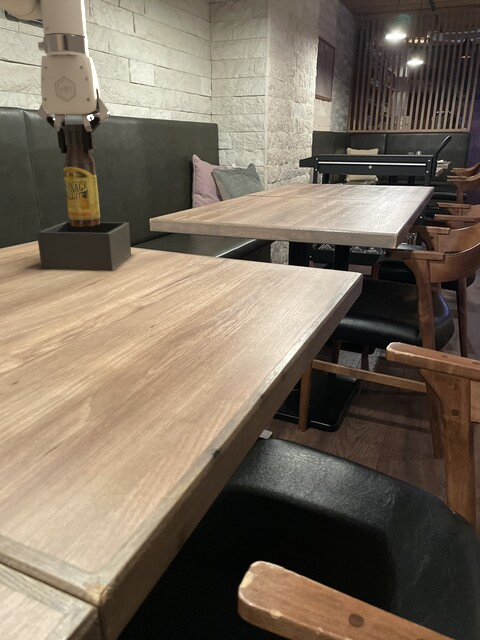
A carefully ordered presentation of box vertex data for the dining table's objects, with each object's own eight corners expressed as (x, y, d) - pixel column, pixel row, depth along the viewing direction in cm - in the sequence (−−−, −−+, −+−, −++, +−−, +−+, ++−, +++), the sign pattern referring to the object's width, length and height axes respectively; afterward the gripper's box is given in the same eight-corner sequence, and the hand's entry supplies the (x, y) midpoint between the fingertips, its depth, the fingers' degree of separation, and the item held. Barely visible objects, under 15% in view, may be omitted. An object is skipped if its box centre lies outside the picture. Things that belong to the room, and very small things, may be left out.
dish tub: (41, 270, 99) (36, 232, 97) (68, 255, 112) (64, 221, 109) (112, 272, 98) (109, 233, 96) (131, 257, 111) (128, 222, 108)
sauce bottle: (64, 228, 101) (47, 124, 94) (82, 223, 106) (67, 124, 99) (91, 229, 99) (77, 122, 92) (108, 224, 104) (96, 123, 98)
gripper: (13, 45, 88) (27, 153, 95) (104, 45, 87) (113, 154, 93) (32, 52, 95) (45, 152, 102) (117, 52, 94) (124, 153, 100)
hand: (77, 152), depth 97 cm, fingers closed on sauce bottle, 4 cm apart
